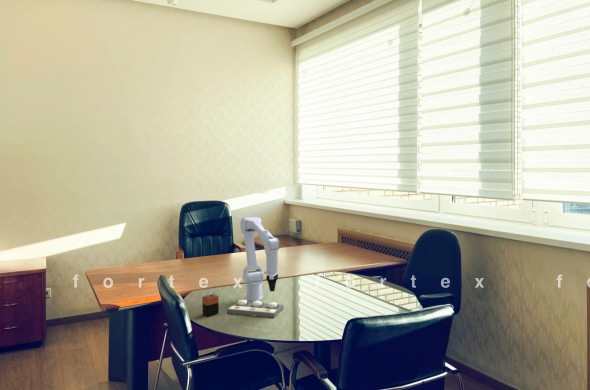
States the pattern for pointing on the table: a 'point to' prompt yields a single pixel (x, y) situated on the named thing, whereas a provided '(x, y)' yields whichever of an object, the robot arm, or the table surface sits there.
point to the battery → (210, 305)
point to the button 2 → (257, 304)
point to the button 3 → (272, 305)
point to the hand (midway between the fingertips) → (272, 290)
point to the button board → (255, 310)
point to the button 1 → (242, 302)
